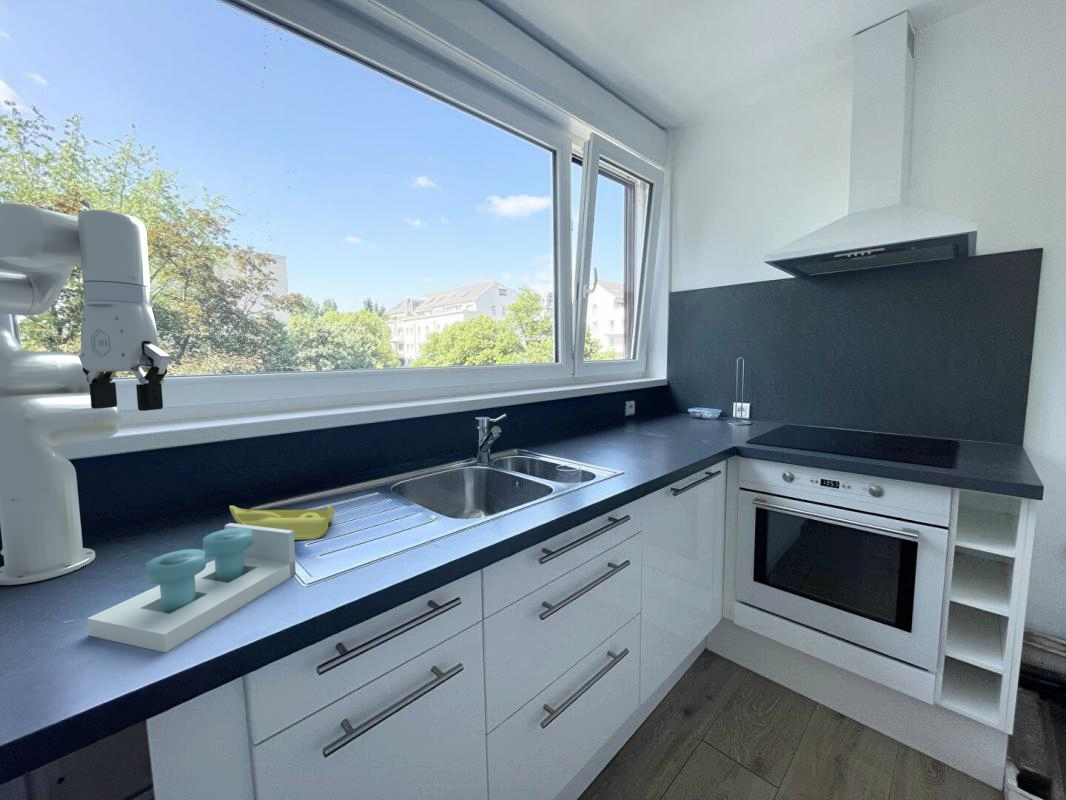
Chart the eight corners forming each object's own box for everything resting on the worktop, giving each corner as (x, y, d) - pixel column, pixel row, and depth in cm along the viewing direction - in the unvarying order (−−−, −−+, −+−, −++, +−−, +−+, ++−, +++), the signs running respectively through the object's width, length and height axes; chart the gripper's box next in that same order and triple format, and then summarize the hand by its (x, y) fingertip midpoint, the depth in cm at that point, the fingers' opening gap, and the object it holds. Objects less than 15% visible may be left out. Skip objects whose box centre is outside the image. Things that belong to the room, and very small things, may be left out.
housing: (88, 635, 61) (83, 579, 60) (232, 564, 82) (230, 523, 82) (165, 652, 58) (161, 593, 57) (295, 574, 79) (293, 530, 78)
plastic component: (335, 509, 106) (329, 503, 97) (332, 541, 104) (325, 538, 95) (241, 510, 101) (226, 504, 92) (235, 544, 98) (219, 541, 89)
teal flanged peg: (195, 594, 72) (191, 541, 71) (233, 575, 78) (230, 525, 78) (228, 600, 70) (225, 545, 69) (264, 579, 77) (262, 529, 76)
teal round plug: (137, 627, 63) (132, 566, 62) (185, 602, 69) (181, 547, 69) (173, 635, 61) (169, 572, 60) (219, 608, 68) (216, 551, 67)
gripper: (47, 296, 66) (57, 409, 68) (133, 292, 62) (142, 413, 63) (106, 302, 73) (114, 405, 75) (187, 299, 69) (194, 408, 71)
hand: (127, 408), depth 69 cm, fingers open, 9 cm apart
